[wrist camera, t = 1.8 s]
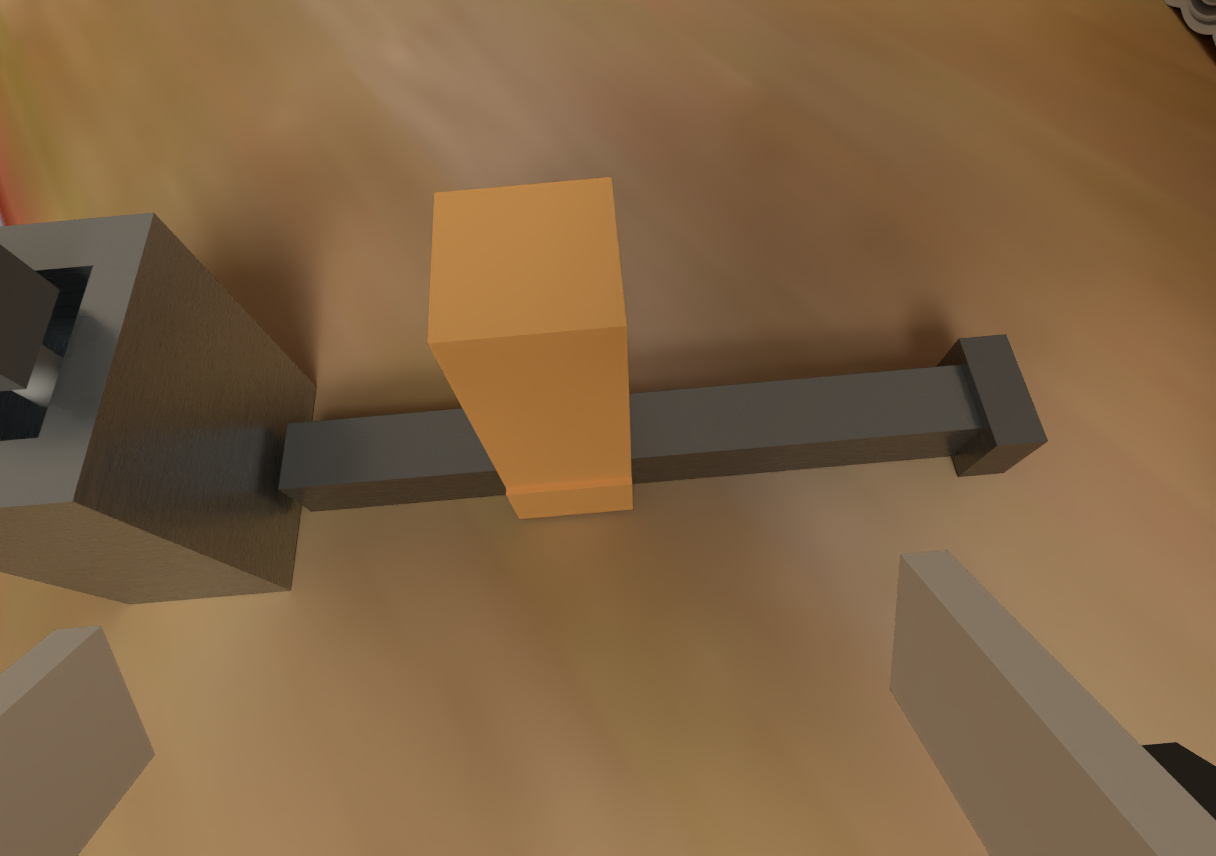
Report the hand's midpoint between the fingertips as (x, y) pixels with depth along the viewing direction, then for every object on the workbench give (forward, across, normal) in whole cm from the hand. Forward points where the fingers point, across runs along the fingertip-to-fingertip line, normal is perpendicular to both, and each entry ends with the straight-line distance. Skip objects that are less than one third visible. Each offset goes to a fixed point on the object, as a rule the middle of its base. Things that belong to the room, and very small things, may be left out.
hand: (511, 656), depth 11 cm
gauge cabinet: (+19, +16, +4) cm, 25 cm away
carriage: (+19, 0, +4) cm, 19 cm away
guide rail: (+19, -3, +4) cm, 20 cm away
